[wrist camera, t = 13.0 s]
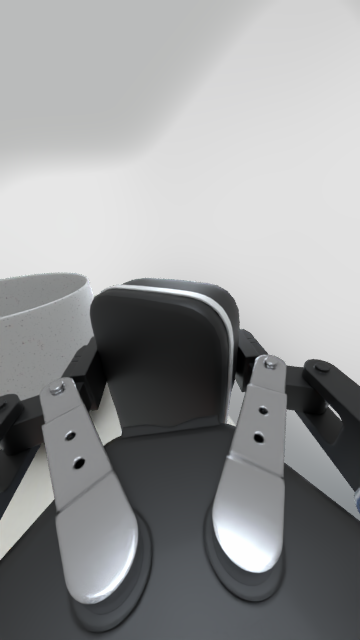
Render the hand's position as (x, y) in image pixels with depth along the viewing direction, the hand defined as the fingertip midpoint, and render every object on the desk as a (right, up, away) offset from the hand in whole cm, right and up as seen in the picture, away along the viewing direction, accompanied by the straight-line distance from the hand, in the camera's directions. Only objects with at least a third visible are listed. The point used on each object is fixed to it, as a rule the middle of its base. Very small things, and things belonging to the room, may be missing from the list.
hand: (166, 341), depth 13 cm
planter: (-20, -14, +22) cm, 33 cm away
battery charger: (+1, -7, +1) cm, 8 cm away
